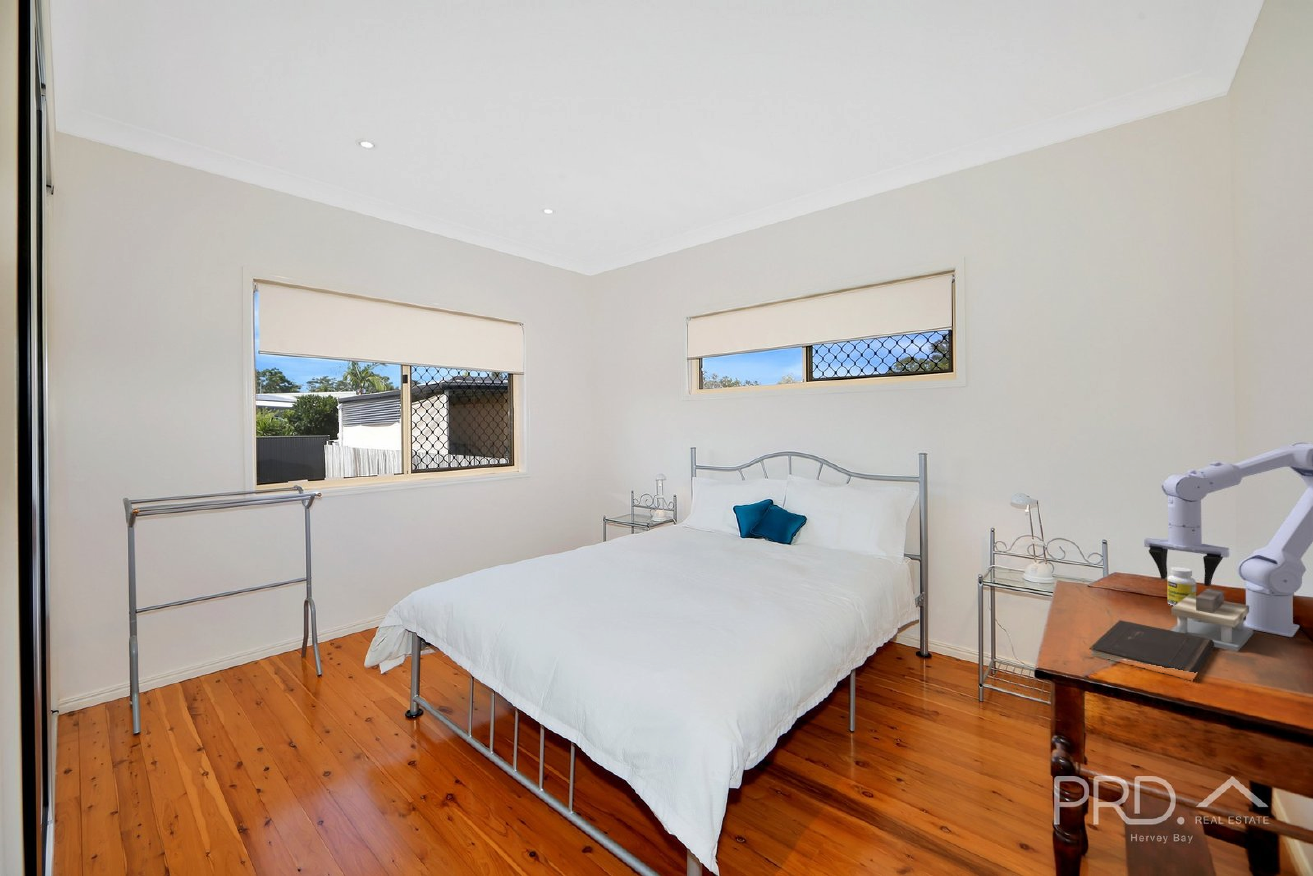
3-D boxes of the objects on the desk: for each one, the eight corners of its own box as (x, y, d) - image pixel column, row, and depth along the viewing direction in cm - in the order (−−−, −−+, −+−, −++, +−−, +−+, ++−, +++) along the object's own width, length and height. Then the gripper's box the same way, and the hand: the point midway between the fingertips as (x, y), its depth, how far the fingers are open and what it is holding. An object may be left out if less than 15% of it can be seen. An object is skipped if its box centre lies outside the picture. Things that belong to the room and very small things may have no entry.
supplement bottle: (1163, 604, 144) (1162, 568, 143) (1173, 601, 146) (1173, 565, 146) (1190, 611, 139) (1189, 573, 138) (1200, 607, 141) (1200, 569, 141)
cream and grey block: (1189, 601, 132) (1188, 582, 132) (1249, 612, 124) (1249, 592, 124) (1171, 614, 124) (1171, 595, 124) (1234, 627, 116) (1234, 606, 116)
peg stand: (1187, 620, 133) (1187, 600, 133) (1253, 633, 124) (1253, 612, 124) (1168, 636, 125) (1167, 614, 125) (1237, 651, 116) (1237, 628, 115)
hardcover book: (1089, 658, 117) (1089, 647, 117) (1119, 629, 131) (1119, 619, 131) (1193, 685, 104) (1192, 673, 104) (1214, 649, 118) (1214, 639, 118)
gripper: (1139, 523, 134) (1140, 578, 134) (1223, 532, 122) (1224, 592, 122) (1149, 519, 138) (1149, 572, 138) (1231, 527, 125) (1231, 585, 126)
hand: (1185, 581), depth 130 cm, fingers open, 7 cm apart
